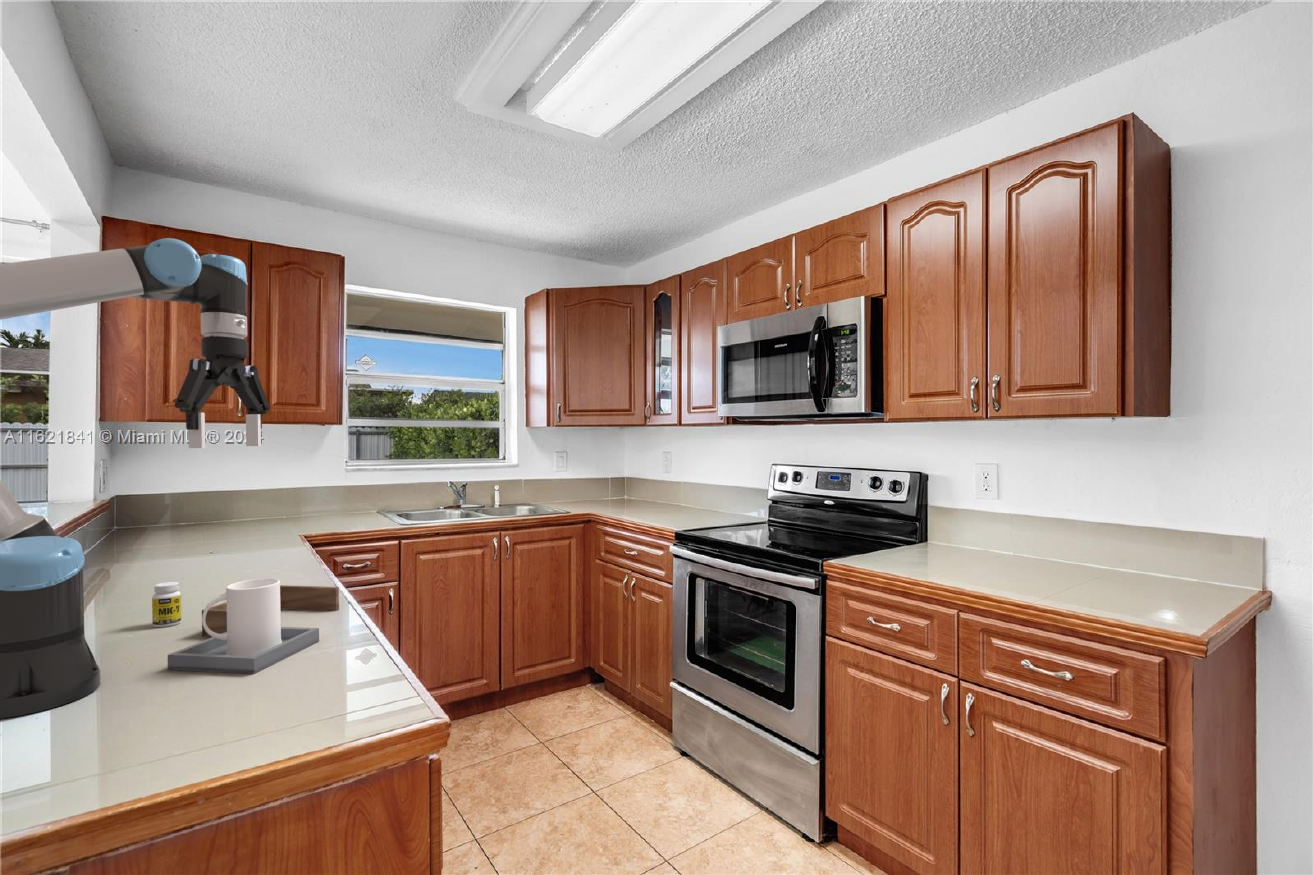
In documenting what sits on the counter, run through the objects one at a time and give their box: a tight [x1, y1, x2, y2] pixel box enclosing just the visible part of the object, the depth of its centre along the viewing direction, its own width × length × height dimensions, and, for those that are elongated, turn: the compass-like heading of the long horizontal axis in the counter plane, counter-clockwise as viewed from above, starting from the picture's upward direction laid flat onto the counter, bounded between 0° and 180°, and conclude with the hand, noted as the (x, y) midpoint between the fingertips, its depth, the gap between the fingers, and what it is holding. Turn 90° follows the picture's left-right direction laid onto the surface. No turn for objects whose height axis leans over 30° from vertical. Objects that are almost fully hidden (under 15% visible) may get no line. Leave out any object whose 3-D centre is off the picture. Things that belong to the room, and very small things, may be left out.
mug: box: [201, 578, 282, 656], centre depth 112 cm, size 12×8×12 cm
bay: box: [201, 584, 340, 637], centre depth 132 cm, size 20×15×5 cm
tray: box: [167, 626, 320, 675], centre depth 113 cm, size 16×16×2 cm
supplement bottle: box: [151, 581, 182, 628], centre depth 131 cm, size 5×5×8 cm
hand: (226, 447), depth 123 cm, fingers open, 13 cm apart
